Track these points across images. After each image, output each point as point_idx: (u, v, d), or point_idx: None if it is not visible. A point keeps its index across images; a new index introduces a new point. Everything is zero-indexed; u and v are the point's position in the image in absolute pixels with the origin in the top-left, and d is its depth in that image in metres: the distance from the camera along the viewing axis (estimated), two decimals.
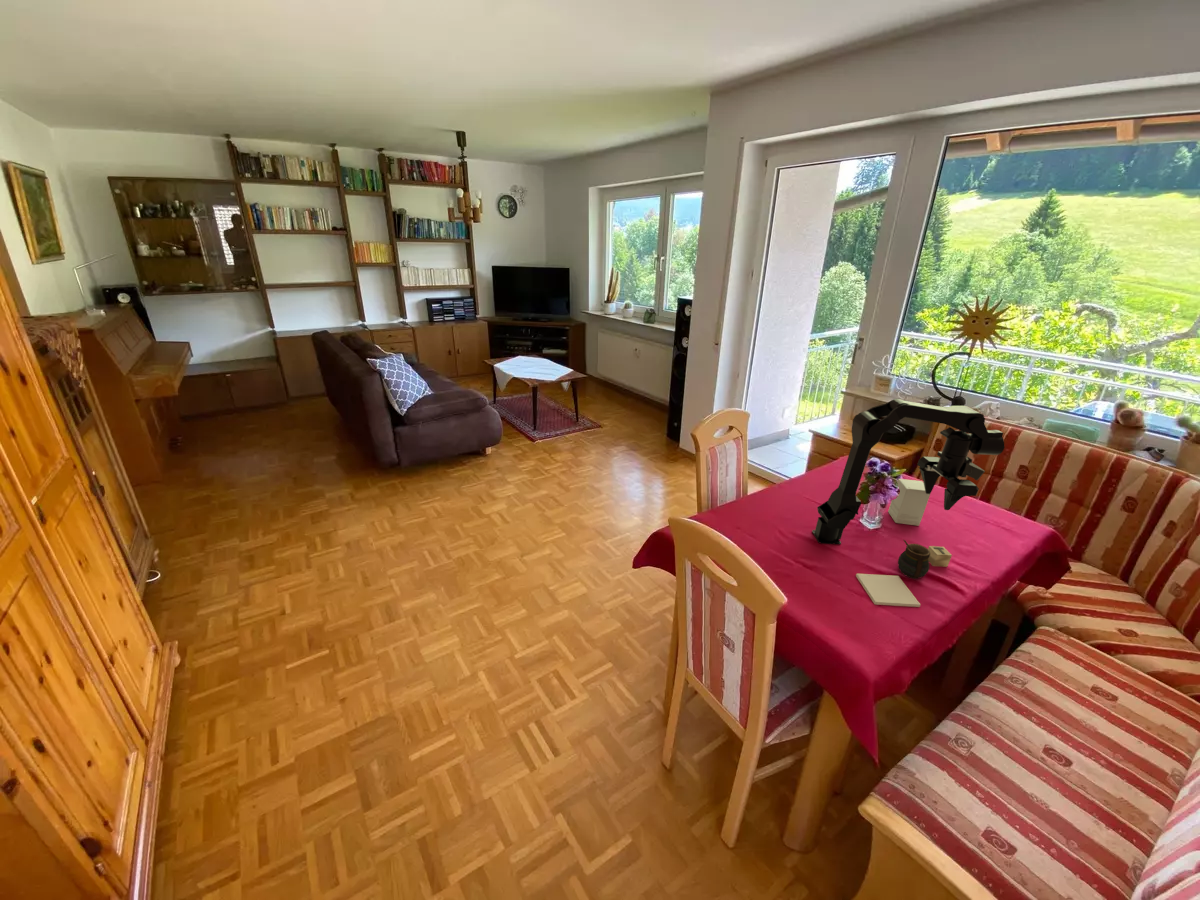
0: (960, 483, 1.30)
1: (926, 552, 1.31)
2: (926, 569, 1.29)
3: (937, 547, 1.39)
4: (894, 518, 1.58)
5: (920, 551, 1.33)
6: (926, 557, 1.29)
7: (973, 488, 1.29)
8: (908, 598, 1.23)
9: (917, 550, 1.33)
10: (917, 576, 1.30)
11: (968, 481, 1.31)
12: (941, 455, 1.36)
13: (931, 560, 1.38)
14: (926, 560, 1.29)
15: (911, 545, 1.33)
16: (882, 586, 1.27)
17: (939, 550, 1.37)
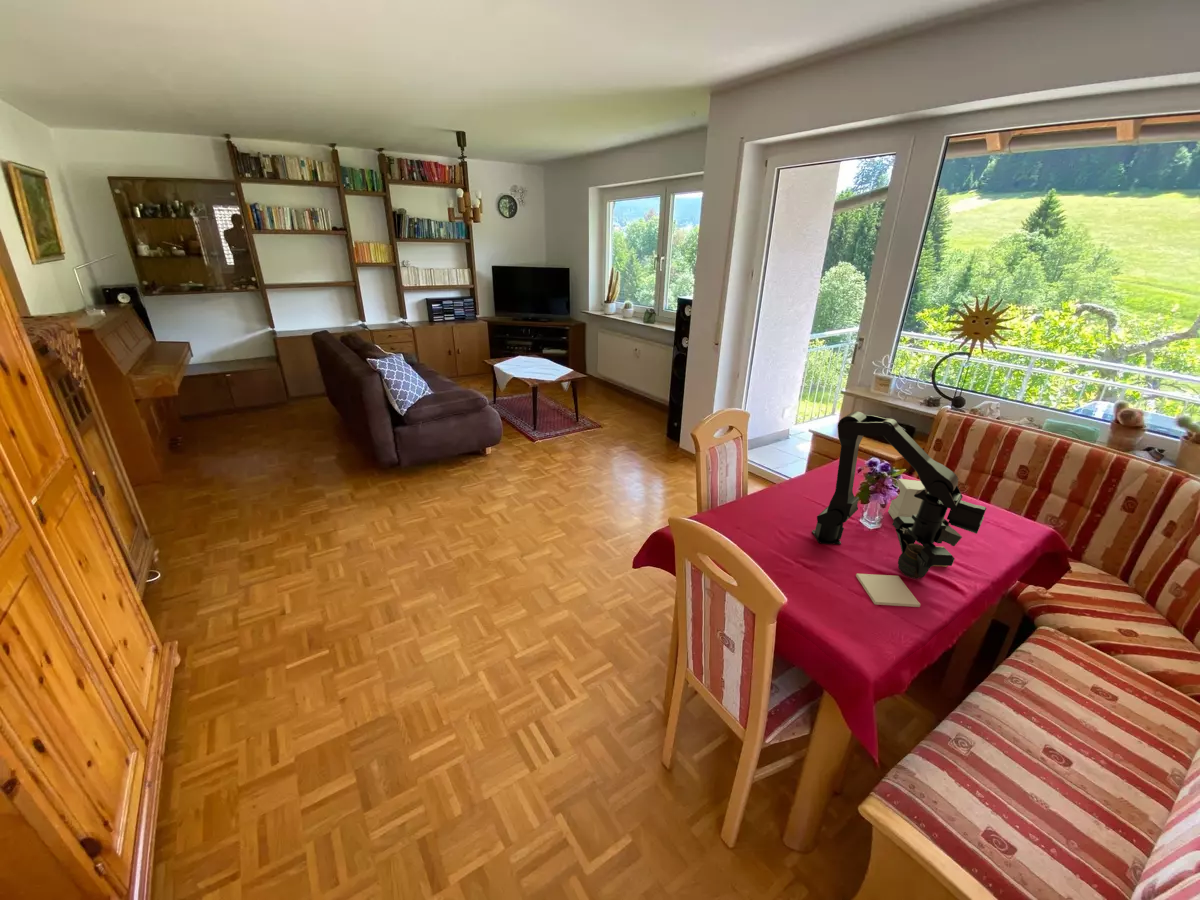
0: (935, 552, 1.21)
1: None
2: None
3: None
4: (894, 518, 1.58)
5: (920, 551, 1.33)
6: None
7: (948, 558, 1.20)
8: (908, 598, 1.23)
9: (917, 550, 1.33)
10: (917, 576, 1.30)
11: (943, 549, 1.23)
12: (916, 519, 1.28)
13: None
14: None
15: (911, 545, 1.33)
16: (882, 586, 1.27)
17: None
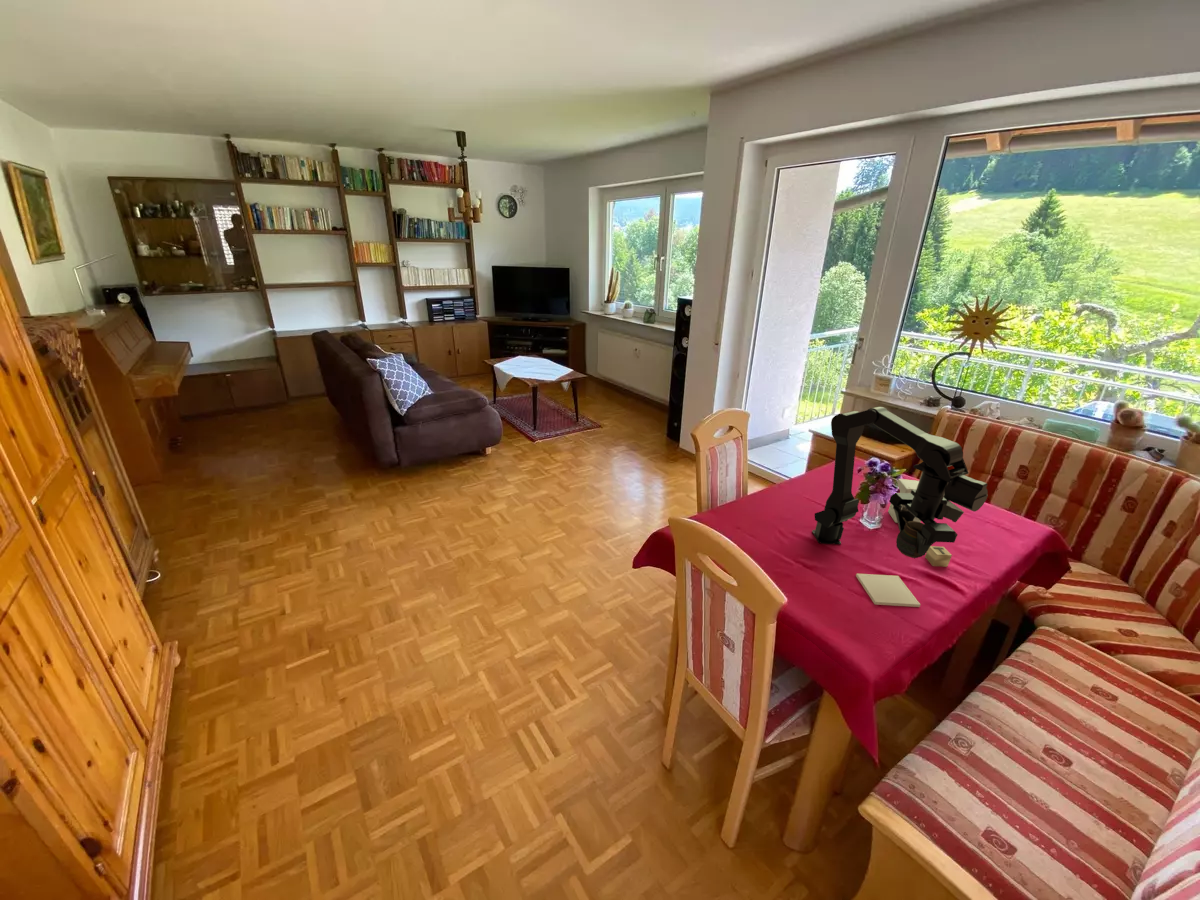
0: (937, 529, 1.14)
1: None
2: None
3: (937, 547, 1.39)
4: (894, 518, 1.58)
5: (919, 529, 1.25)
6: None
7: (951, 534, 1.13)
8: (908, 598, 1.23)
9: (916, 528, 1.25)
10: (917, 555, 1.23)
11: (945, 525, 1.15)
12: (915, 494, 1.20)
13: (931, 560, 1.38)
14: None
15: (910, 522, 1.25)
16: (882, 586, 1.27)
17: (939, 550, 1.37)
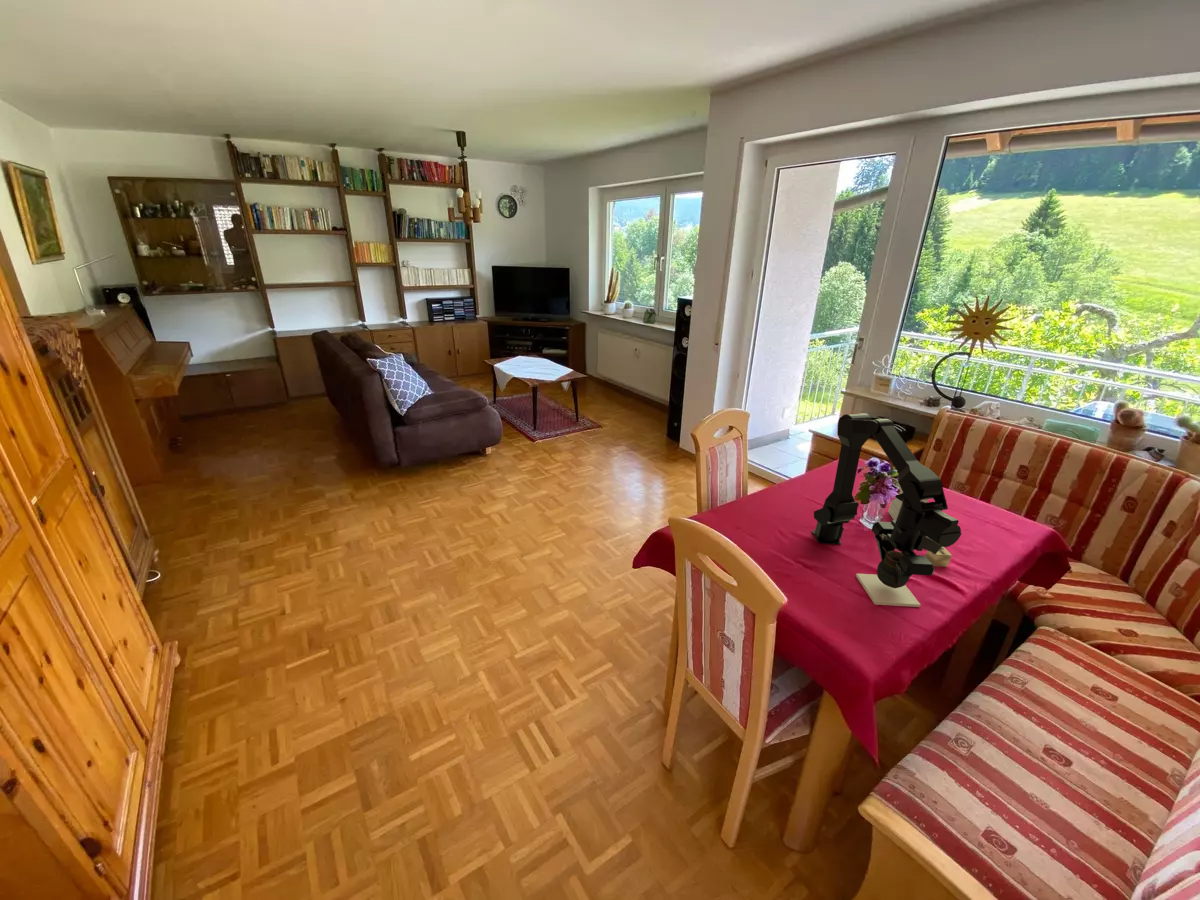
0: (914, 561, 1.13)
1: None
2: None
3: None
4: (894, 518, 1.58)
5: None
6: None
7: (928, 567, 1.12)
8: (908, 598, 1.23)
9: (897, 558, 1.25)
10: (897, 585, 1.22)
11: (923, 558, 1.15)
12: (895, 525, 1.20)
13: (931, 560, 1.38)
14: None
15: (891, 552, 1.25)
16: (882, 586, 1.27)
17: (939, 550, 1.37)
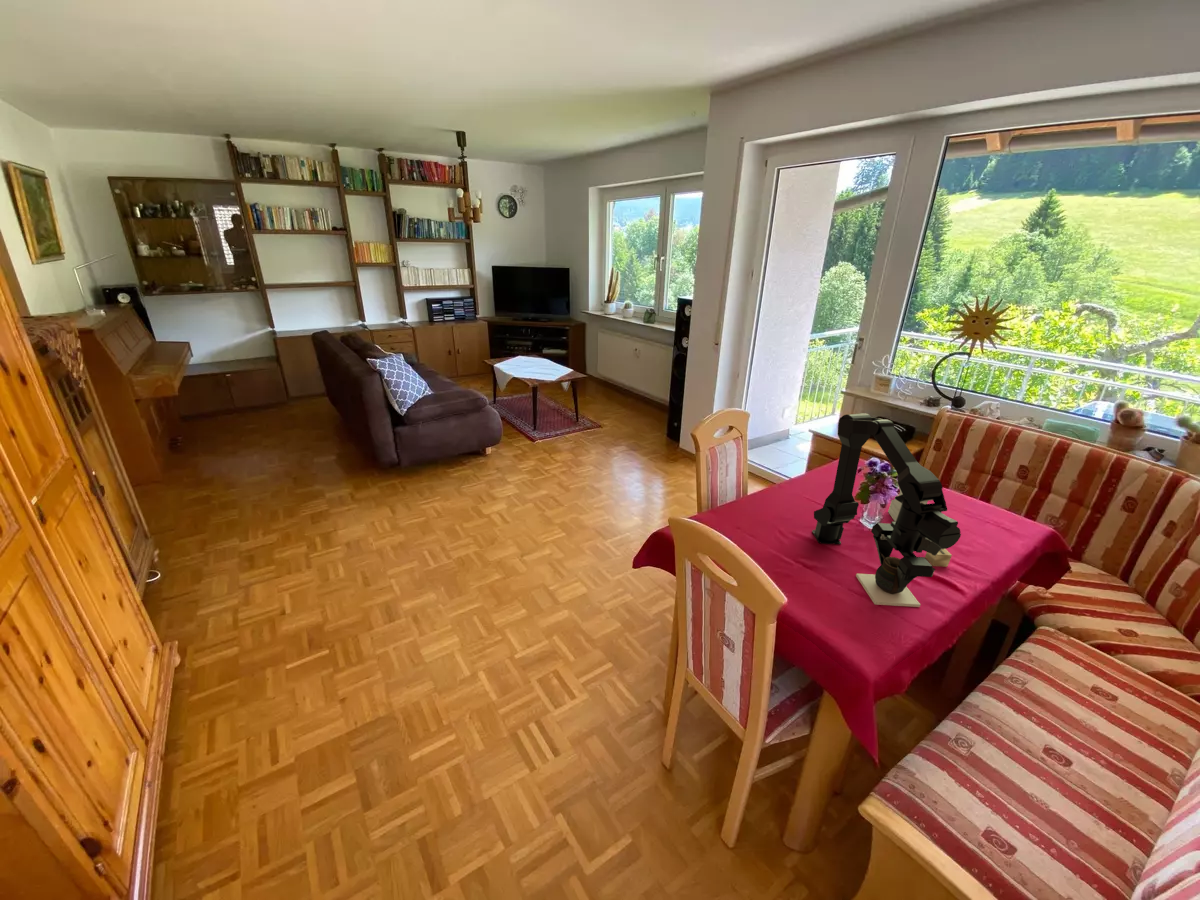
0: (914, 563, 1.13)
1: None
2: None
3: None
4: (894, 518, 1.58)
5: (898, 565, 1.25)
6: None
7: (928, 569, 1.13)
8: (908, 598, 1.23)
9: (895, 563, 1.26)
10: (895, 591, 1.23)
11: (923, 559, 1.15)
12: (894, 526, 1.20)
13: (931, 560, 1.38)
14: None
15: (889, 558, 1.26)
16: None
17: None
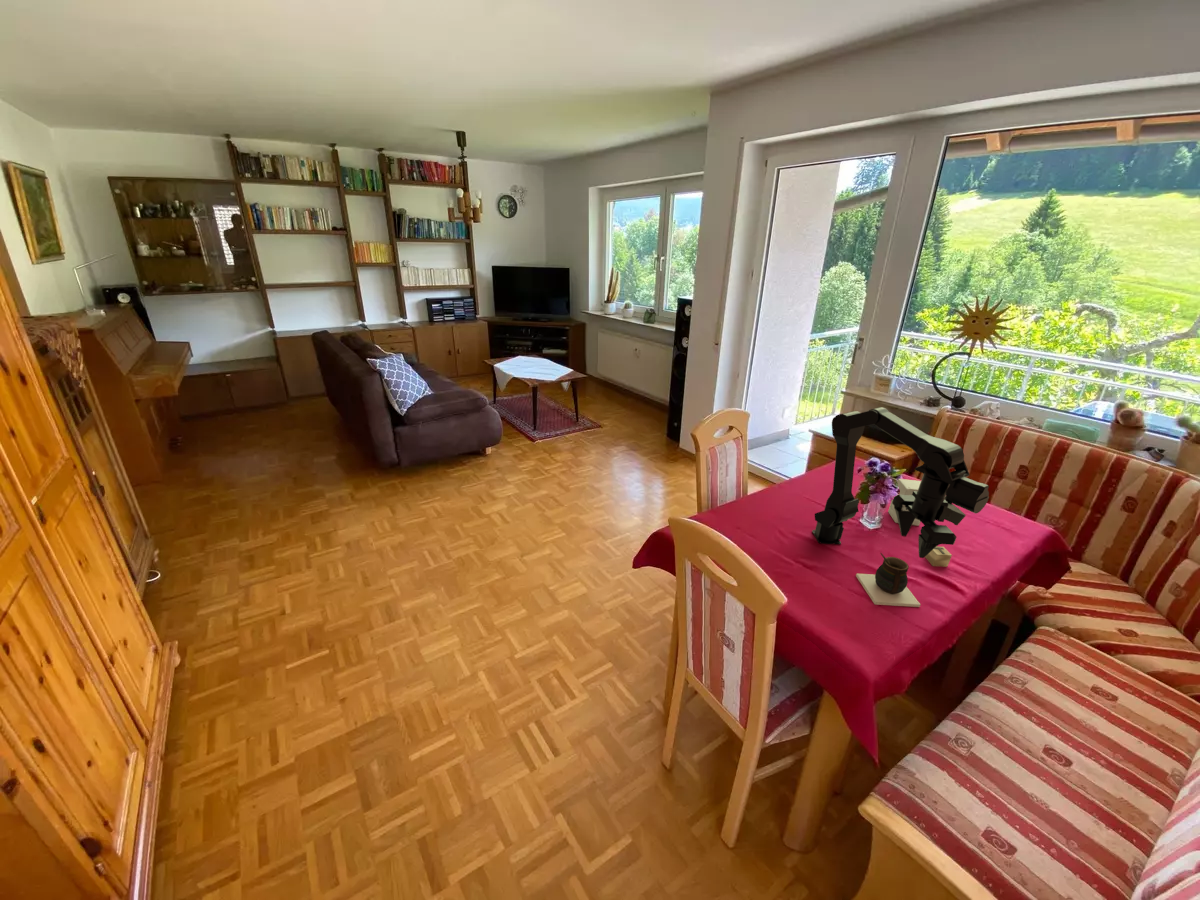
0: (935, 530, 1.14)
1: (904, 566, 1.24)
2: (904, 584, 1.22)
3: (937, 547, 1.39)
4: (894, 518, 1.58)
5: (898, 565, 1.25)
6: (904, 571, 1.21)
7: (950, 536, 1.13)
8: (908, 598, 1.23)
9: (895, 564, 1.26)
10: (895, 591, 1.23)
11: (945, 527, 1.15)
12: (916, 496, 1.20)
13: (931, 560, 1.38)
14: (904, 575, 1.22)
15: (889, 558, 1.26)
16: None
17: (939, 550, 1.37)
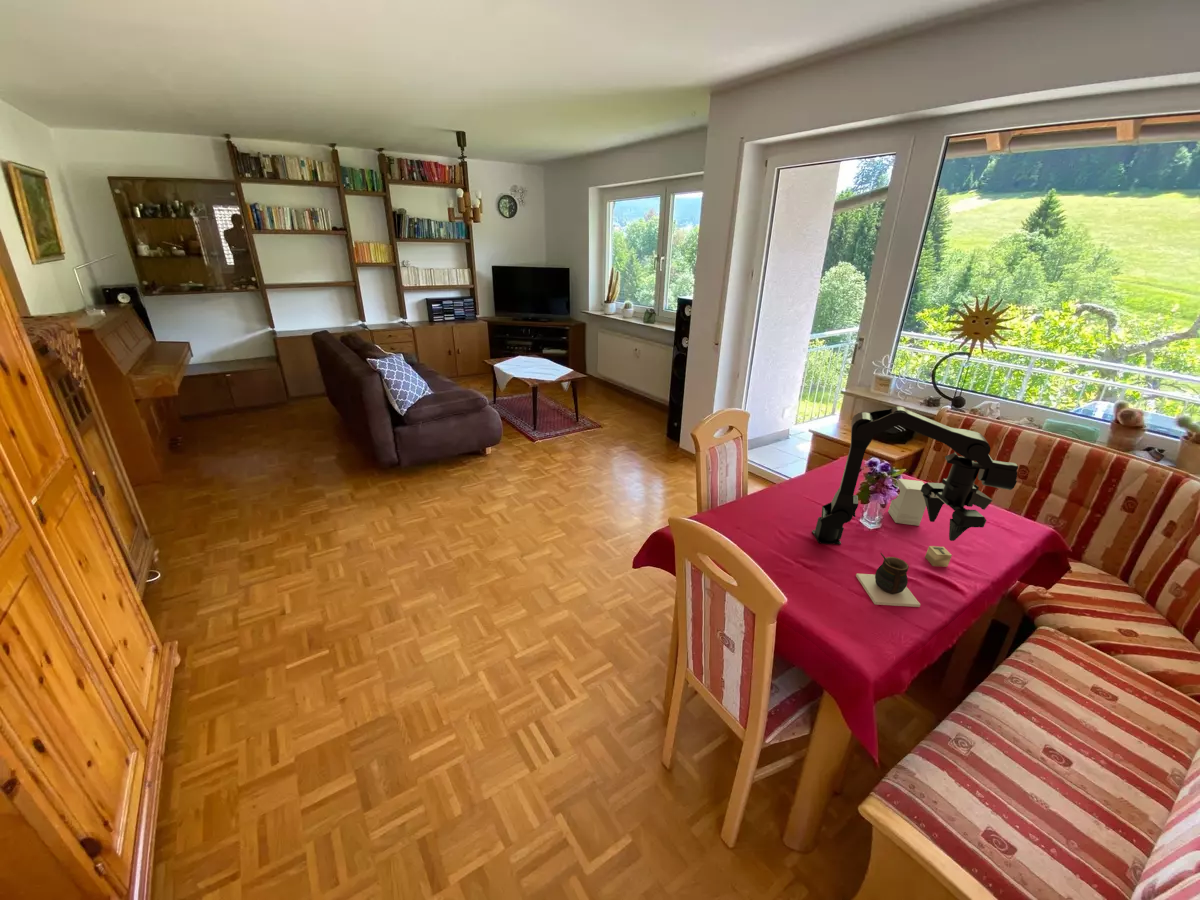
0: (967, 514, 1.22)
1: (904, 566, 1.24)
2: (904, 584, 1.22)
3: (937, 547, 1.39)
4: (894, 518, 1.58)
5: (898, 565, 1.25)
6: (904, 571, 1.21)
7: (980, 519, 1.21)
8: (908, 598, 1.23)
9: (895, 564, 1.26)
10: (895, 591, 1.23)
11: (975, 511, 1.24)
12: (946, 483, 1.28)
13: (931, 560, 1.38)
14: (904, 575, 1.22)
15: (889, 558, 1.26)
16: None
17: (939, 550, 1.37)
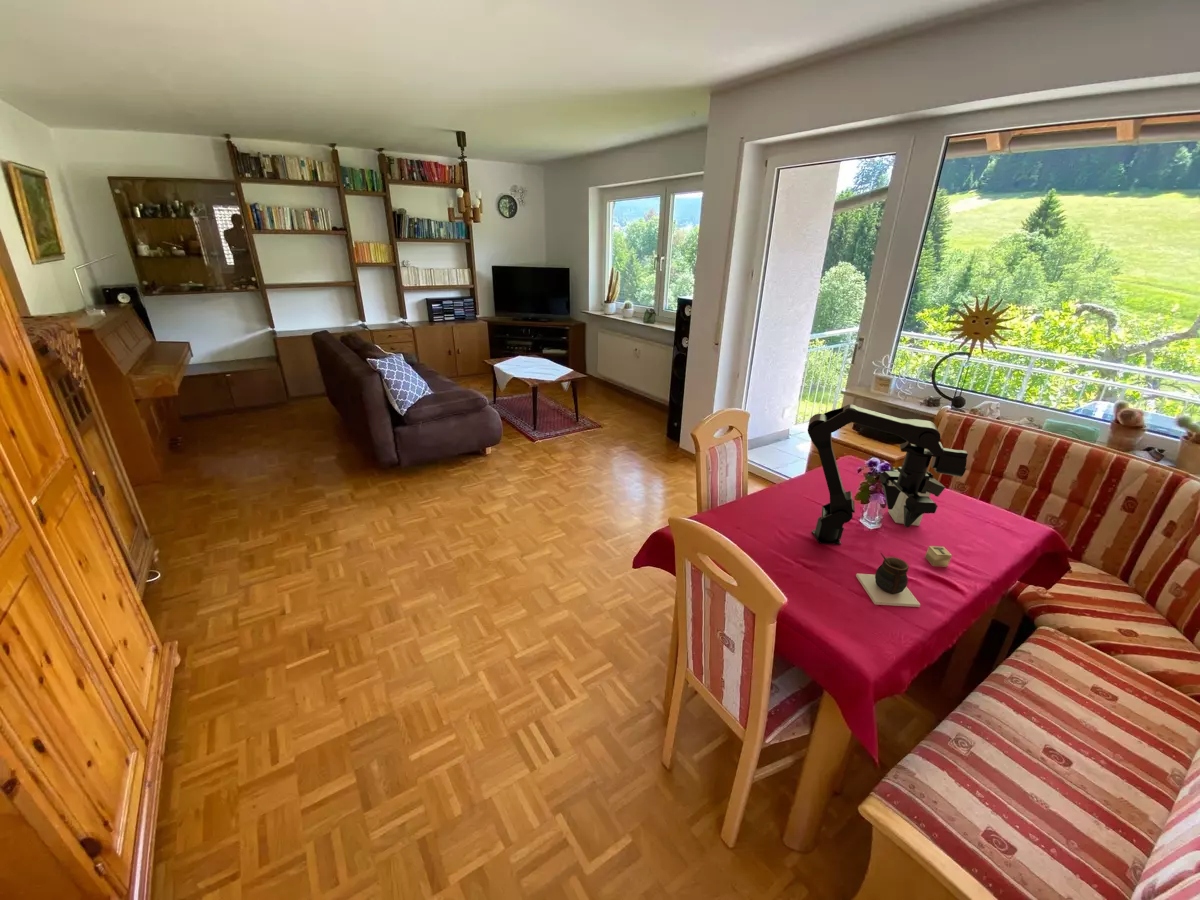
0: (919, 500, 1.26)
1: (904, 566, 1.24)
2: (904, 584, 1.22)
3: (937, 547, 1.39)
4: (894, 518, 1.58)
5: (898, 565, 1.25)
6: (904, 571, 1.21)
7: (931, 505, 1.25)
8: (908, 598, 1.23)
9: (895, 564, 1.26)
10: (895, 591, 1.23)
11: (927, 498, 1.27)
12: (901, 471, 1.32)
13: (931, 560, 1.38)
14: (904, 575, 1.22)
15: (889, 558, 1.26)
16: None
17: (939, 550, 1.37)
